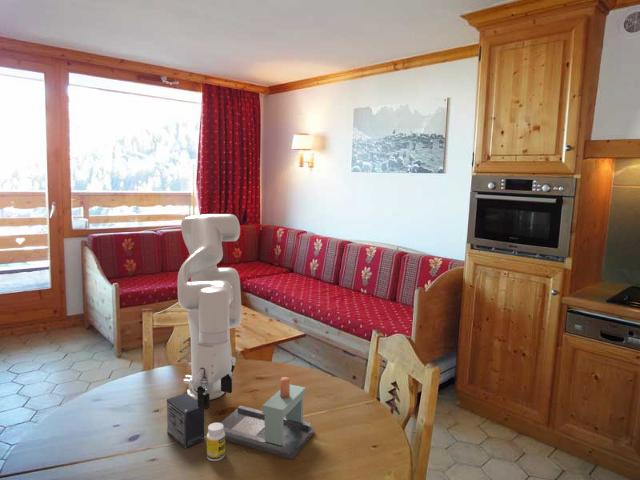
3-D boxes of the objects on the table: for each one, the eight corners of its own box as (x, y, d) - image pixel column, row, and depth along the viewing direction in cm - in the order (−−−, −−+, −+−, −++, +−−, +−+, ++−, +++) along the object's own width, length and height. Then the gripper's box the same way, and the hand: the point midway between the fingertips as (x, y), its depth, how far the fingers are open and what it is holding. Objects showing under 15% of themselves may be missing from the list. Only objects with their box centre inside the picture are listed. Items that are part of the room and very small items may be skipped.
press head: (262, 440, 124) (262, 387, 122) (286, 416, 137) (286, 367, 134) (282, 446, 122) (282, 392, 119) (304, 420, 134) (305, 371, 132)
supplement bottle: (220, 462, 119) (220, 432, 118) (203, 460, 120) (203, 430, 119) (228, 451, 124) (227, 422, 122) (211, 449, 125) (211, 420, 123)
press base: (210, 435, 131) (210, 427, 131) (237, 412, 144) (237, 404, 143) (292, 459, 121) (292, 450, 121) (314, 432, 134) (314, 423, 133)
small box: (206, 439, 129) (205, 404, 128) (185, 449, 125) (184, 413, 123) (187, 424, 136) (186, 391, 135) (166, 433, 132) (165, 398, 130)
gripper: (222, 324, 126) (222, 383, 128) (179, 344, 110) (181, 411, 113) (245, 328, 123) (246, 388, 125) (205, 349, 108) (206, 418, 110)
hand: (215, 399), depth 119 cm, fingers open, 9 cm apart
